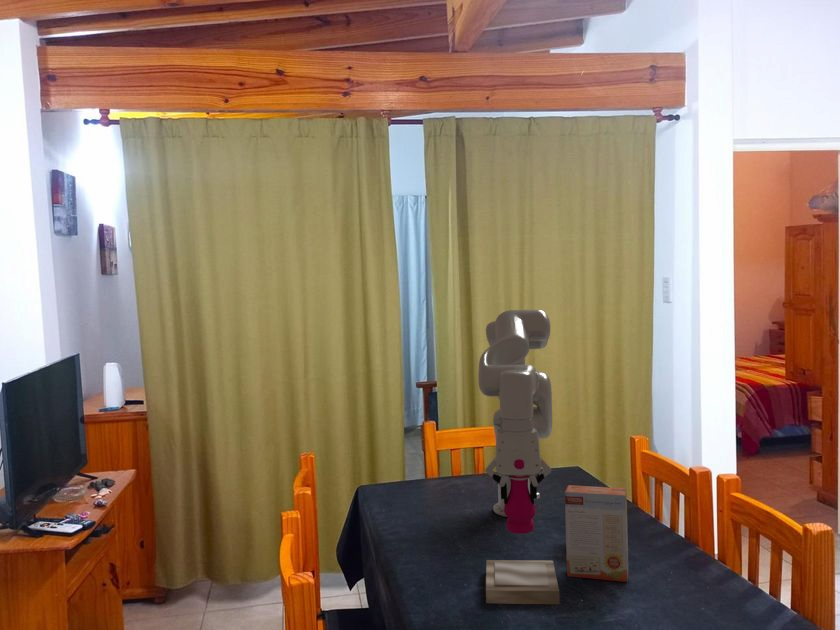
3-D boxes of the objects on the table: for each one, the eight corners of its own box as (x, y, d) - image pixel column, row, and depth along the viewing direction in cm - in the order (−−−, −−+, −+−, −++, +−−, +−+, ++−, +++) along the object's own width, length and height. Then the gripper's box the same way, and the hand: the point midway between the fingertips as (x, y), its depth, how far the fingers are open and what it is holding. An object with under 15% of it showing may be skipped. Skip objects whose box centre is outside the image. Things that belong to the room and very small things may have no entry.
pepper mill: (535, 535, 160) (533, 448, 159) (503, 534, 162) (501, 447, 160) (536, 523, 167) (535, 439, 166) (505, 522, 169) (503, 439, 167)
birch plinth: (486, 572, 174) (486, 558, 174) (553, 572, 173) (552, 558, 172) (486, 603, 158) (485, 588, 158) (559, 604, 157) (559, 589, 156)
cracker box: (628, 572, 171) (627, 487, 170) (627, 583, 166) (626, 495, 164) (569, 566, 176) (567, 483, 174) (566, 576, 170) (564, 491, 169)
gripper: (478, 428, 160) (481, 507, 161) (556, 427, 158) (558, 507, 159) (479, 421, 167) (481, 496, 169) (553, 420, 166) (555, 496, 167)
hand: (518, 501), depth 164 cm, fingers closed on pepper mill, 5 cm apart
